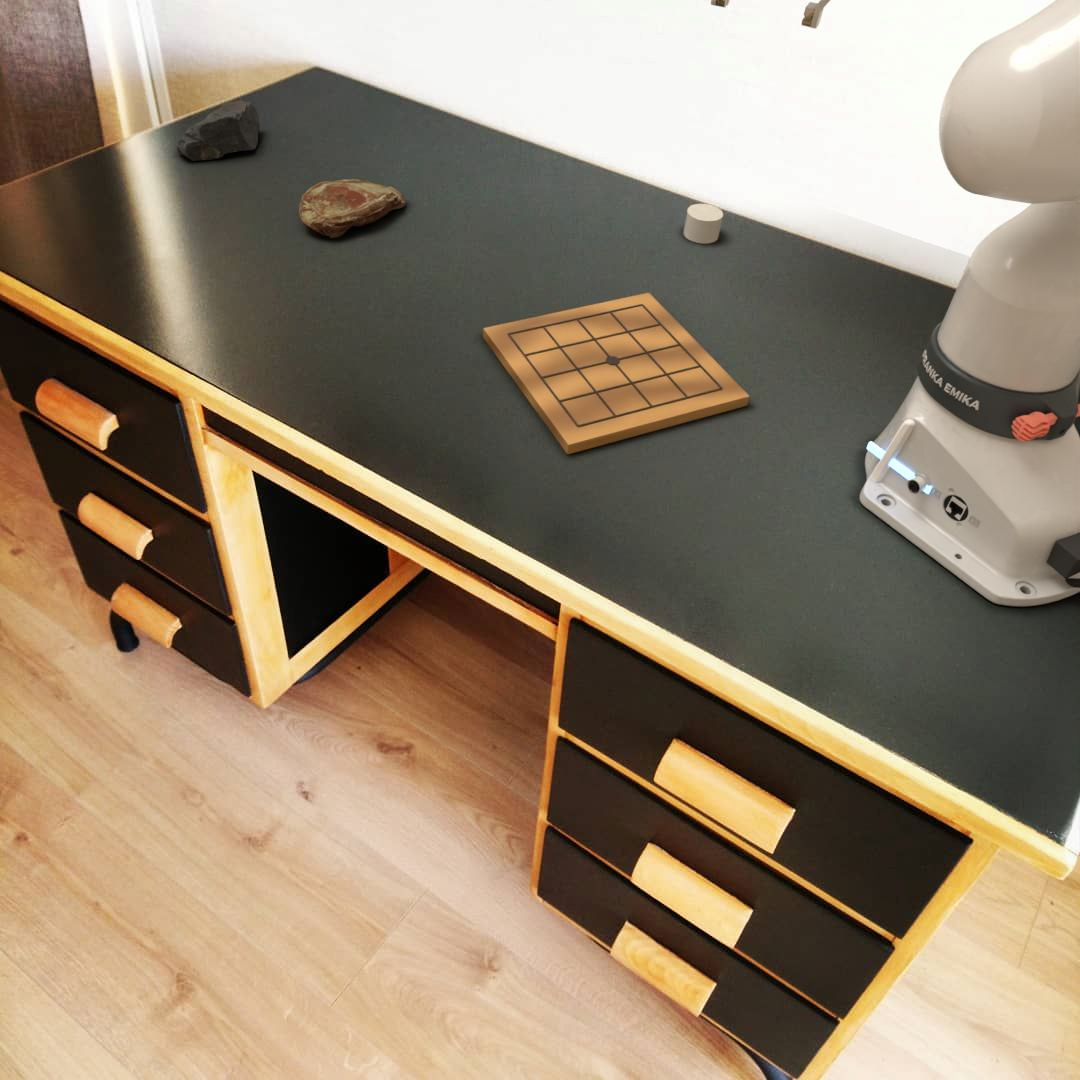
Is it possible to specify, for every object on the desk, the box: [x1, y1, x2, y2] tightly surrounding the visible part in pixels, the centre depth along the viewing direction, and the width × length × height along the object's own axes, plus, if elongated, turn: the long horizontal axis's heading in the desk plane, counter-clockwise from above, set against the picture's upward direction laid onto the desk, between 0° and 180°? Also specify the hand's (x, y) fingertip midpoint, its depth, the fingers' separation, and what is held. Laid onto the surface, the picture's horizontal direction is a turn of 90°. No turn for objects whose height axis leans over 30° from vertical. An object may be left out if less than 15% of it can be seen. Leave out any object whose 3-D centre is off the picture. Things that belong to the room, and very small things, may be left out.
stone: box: [298, 178, 407, 239], centre depth 114 cm, size 13×10×3 cm
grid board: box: [482, 292, 750, 455], centre depth 95 cm, size 20×20×1 cm
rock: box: [176, 100, 261, 162], centre depth 124 cm, size 10×6×10 cm
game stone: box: [682, 203, 724, 244], centre depth 115 cm, size 4×4×3 cm
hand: (764, 15), depth 94 cm, fingers open, 8 cm apart
